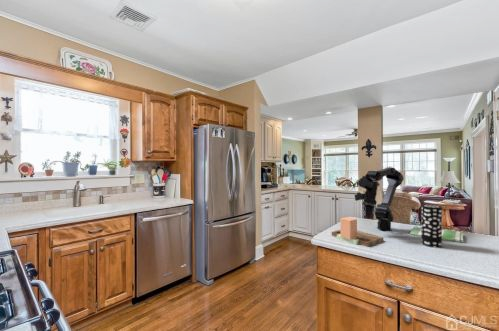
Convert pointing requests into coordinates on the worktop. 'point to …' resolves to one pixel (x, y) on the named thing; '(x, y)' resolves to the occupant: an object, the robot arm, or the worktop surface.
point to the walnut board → (364, 238)
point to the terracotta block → (348, 228)
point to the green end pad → (354, 241)
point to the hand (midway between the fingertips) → (366, 217)
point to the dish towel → (446, 234)
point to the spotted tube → (431, 226)
